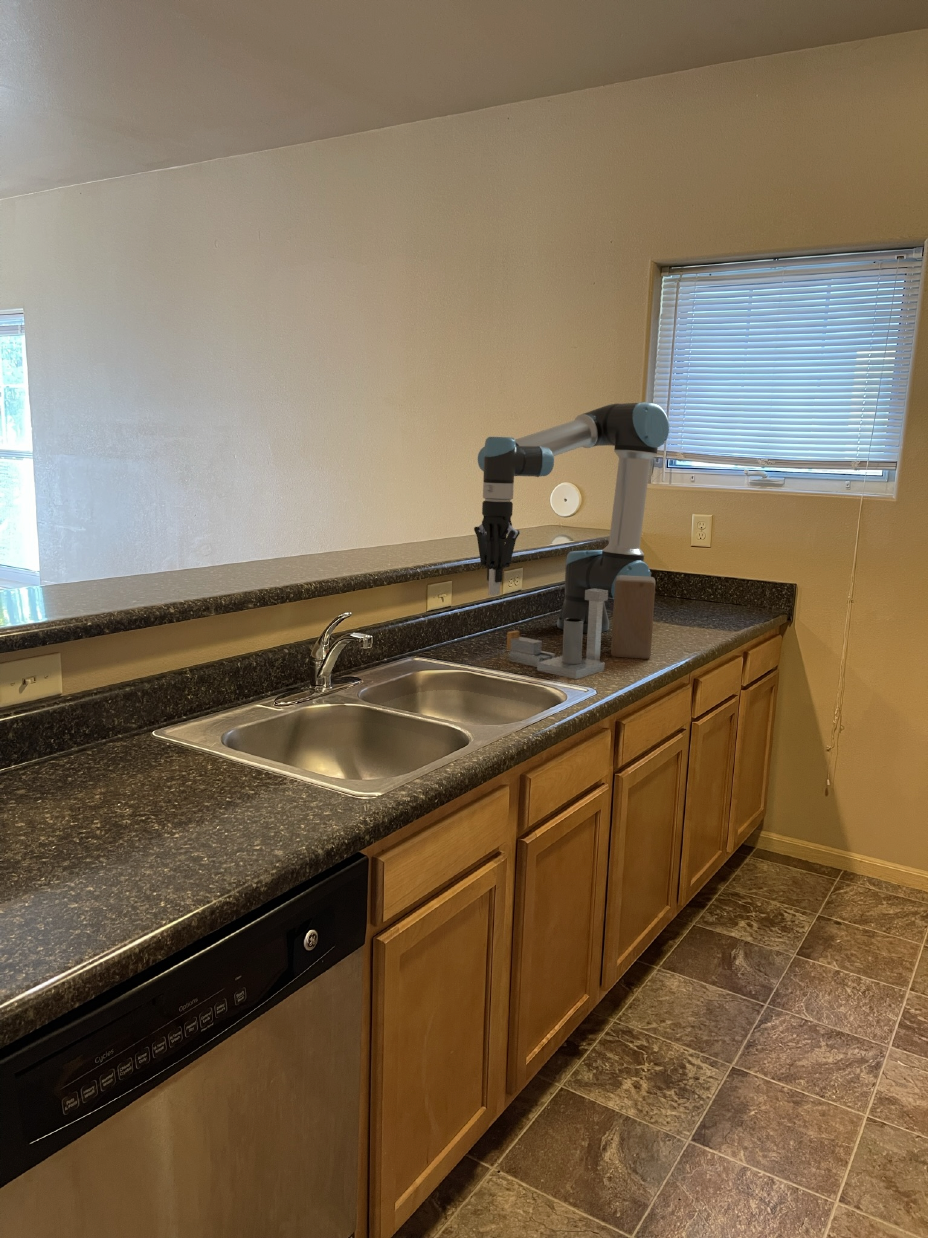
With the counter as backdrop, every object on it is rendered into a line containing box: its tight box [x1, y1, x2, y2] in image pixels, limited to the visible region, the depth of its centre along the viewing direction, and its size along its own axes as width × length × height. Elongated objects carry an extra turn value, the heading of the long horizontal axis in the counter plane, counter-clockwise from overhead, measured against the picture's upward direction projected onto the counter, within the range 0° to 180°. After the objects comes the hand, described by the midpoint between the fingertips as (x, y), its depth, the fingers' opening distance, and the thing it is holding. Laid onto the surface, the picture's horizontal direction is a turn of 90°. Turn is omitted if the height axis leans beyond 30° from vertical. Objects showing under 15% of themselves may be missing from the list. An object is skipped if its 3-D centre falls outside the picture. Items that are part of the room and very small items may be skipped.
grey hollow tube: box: [561, 618, 584, 664], centre depth 217 cm, size 4×4×10 cm
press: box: [509, 588, 609, 680], centre depth 222 cm, size 18×22×18 cm
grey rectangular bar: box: [506, 630, 543, 655], centre depth 226 cm, size 3×8×4 cm, turn 49°
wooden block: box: [610, 575, 656, 660], centre depth 235 cm, size 10×10×20 cm
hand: (494, 594), depth 230 cm, fingers closed
